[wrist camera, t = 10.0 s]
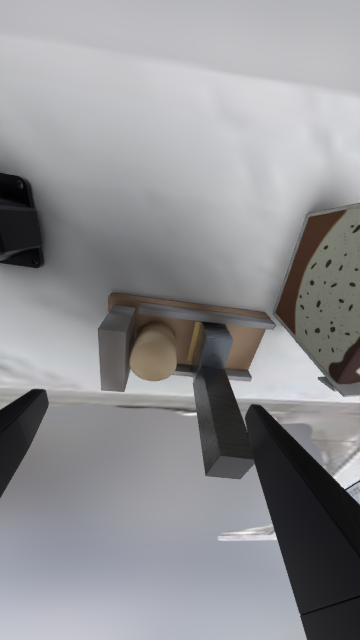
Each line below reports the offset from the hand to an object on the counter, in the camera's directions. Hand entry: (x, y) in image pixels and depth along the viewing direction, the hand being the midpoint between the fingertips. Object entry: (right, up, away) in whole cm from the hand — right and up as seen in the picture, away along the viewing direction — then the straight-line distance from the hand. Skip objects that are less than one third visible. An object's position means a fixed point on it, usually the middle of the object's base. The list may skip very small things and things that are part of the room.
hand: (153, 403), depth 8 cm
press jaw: (+4, +1, +12) cm, 12 cm away
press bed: (+2, +2, +13) cm, 13 cm away
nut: (-1, +2, +11) cm, 11 cm away
